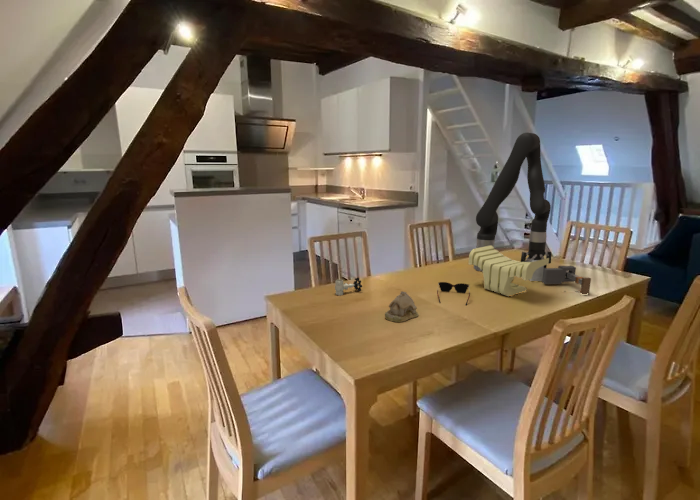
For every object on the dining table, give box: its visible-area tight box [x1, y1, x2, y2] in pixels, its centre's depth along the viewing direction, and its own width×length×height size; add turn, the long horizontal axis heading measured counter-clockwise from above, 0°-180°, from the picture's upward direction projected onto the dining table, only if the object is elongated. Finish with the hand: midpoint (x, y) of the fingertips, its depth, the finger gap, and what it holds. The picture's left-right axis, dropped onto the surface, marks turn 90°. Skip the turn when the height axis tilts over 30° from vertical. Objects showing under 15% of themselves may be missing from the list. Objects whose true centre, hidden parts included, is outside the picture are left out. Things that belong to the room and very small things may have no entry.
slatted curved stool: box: [468, 245, 549, 297], centre depth 182 cm, size 30×16×18 cm, turn 33°
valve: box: [334, 277, 363, 296], centre depth 182 cm, size 7×7×12 cm
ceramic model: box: [384, 291, 419, 323], centre depth 155 cm, size 14×11×10 cm
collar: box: [542, 265, 577, 285], centre depth 190 cm, size 14×3×8 cm, turn 92°
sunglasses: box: [436, 281, 471, 306], centre depth 175 cm, size 14×16×5 cm
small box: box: [526, 257, 544, 282], centre depth 199 cm, size 8×6×10 cm
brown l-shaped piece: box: [557, 265, 592, 294], centre depth 186 cm, size 10×21×8 cm, turn 2°
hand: (534, 271), depth 199 cm, fingers open, 8 cm apart
